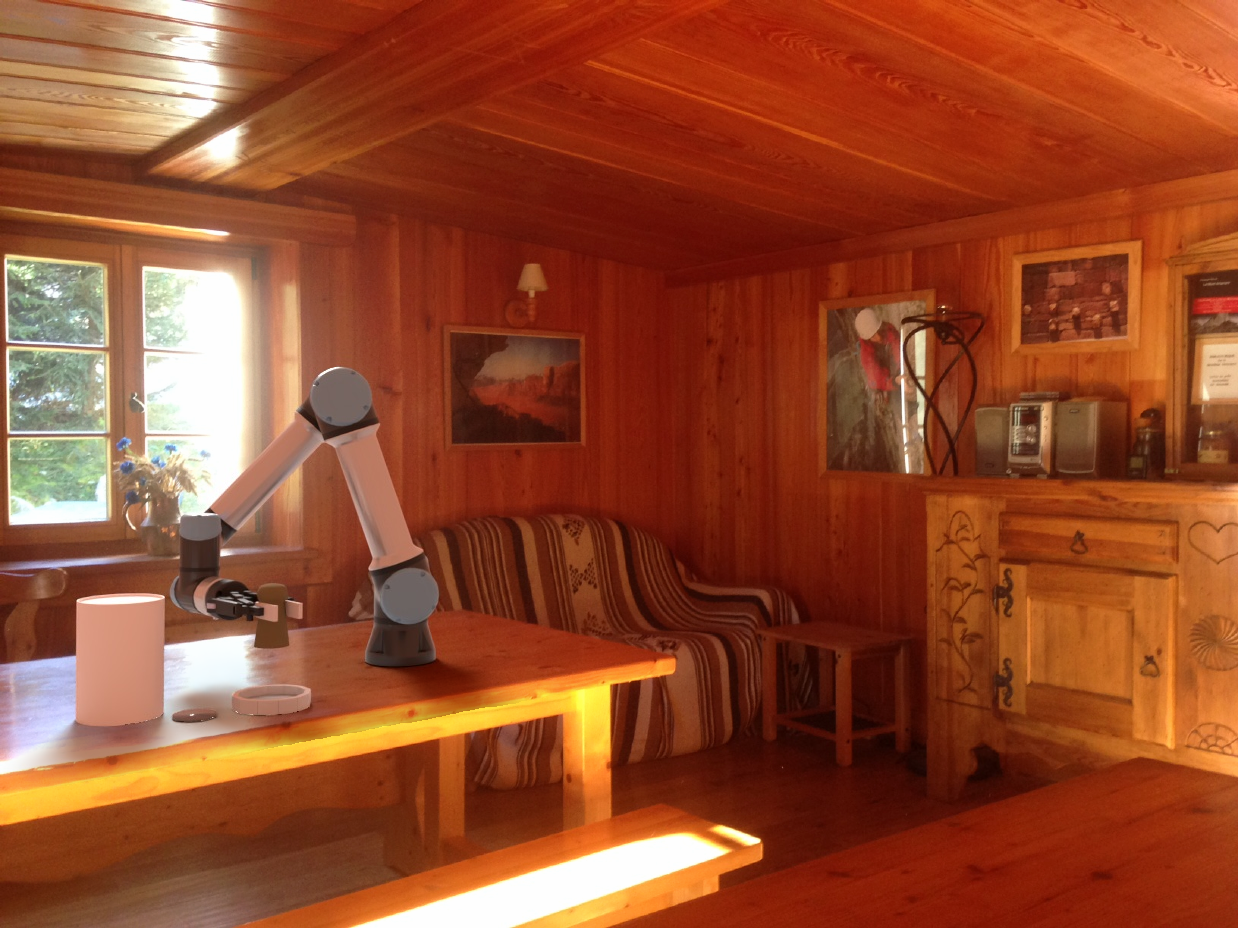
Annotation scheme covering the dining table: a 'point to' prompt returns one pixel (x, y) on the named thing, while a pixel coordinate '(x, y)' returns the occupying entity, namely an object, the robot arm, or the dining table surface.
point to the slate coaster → (194, 715)
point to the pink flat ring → (271, 699)
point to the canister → (119, 659)
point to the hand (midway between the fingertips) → (288, 612)
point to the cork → (269, 631)
